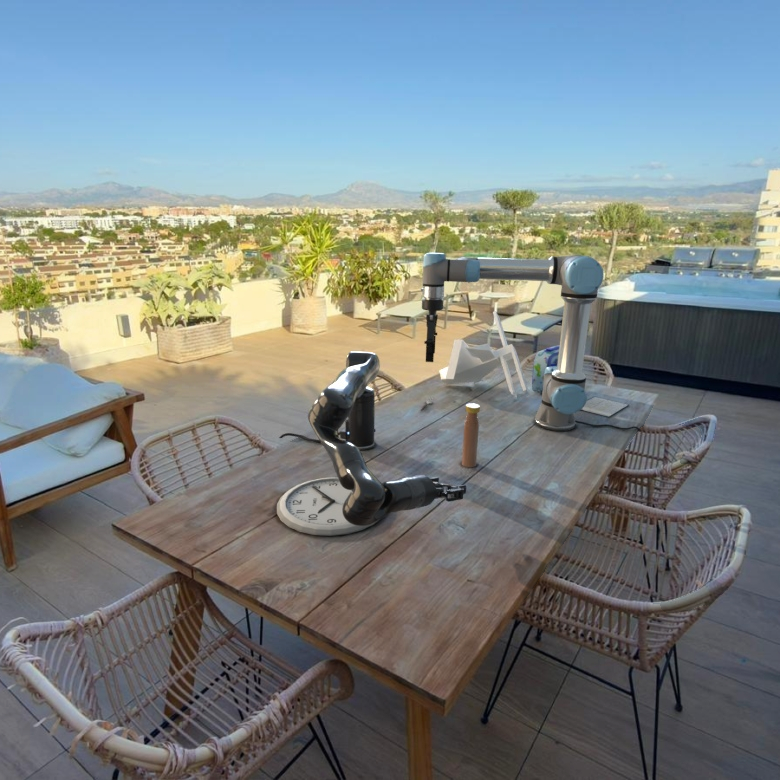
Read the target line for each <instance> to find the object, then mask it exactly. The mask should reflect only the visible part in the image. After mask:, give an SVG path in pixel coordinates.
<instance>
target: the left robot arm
mask: <svg viewBox="0 0 780 780" xmlns="http://www.w3.org/2000/svg"><path fill="white" fill-rule="evenodd" d="M380 369H381V361H380V358H379V356H378V354H377V353H375V352H371V351H354V350H353V351H349V352H348V354H347V355H346V359H345V367H344V369H342V370H341V371H340V372H339V373H338V374H337V375H336V376H335V378H334V379H333V381H332V383H331V384H329V385H327V386H326V387H325V388H323V390H322V391H321V392H320V393H319V394H318V396H317V398H315V401H314V402H313V404H312V405H311V406H310V408H309V410H308V412H307V419H308V422H309V425H310V426H311V429H312V430H313V432H314V433H315V435H316V437H317V438H318V439H314V438H309V437H308V436H305V435H303V434H298V433H292V432H286V433H285V432H284V433H283V434H281V435H280V436H279V437H278V439H283V438H284V437H287V436H289V437H296V438H301V439H304V440H306V441H308V442H313V443H318V444H321V445H322V446H323V448H324V449H325V451H326V452H327V454H328V456H329V458H330V460H331V462H332V466H333V469H334V472H335V474H336V477H337V478H338V480H339V482H340V484H341V485H342V487H343V488H345V489H347V490H352V491H351V492H350V494H349V495H348V497H347V499H346V500H345V502H344V504H343V507H342V513H343V516H344V518H345V519H346V520H347V521H348V522H349V523H351V524H353V525H356V526H366V525H370V524H372V523H374V522H376V521H377V522H379V521H380V520H382V519H384V518H385V517H387V516H389V515H390V514H393V513H397V512H401V511H410V510H414V509H419V508H423V507H429V506H430V505H431V504H432V503H433V502H434V501H435V500H438V499H445V501H446V502H448V503H449V502H455V501H460V500H463V499H464V495H465V494H467V488H468V487H467V485H465V484H459V485H451V484H450V483H445V482H444V483H443V482H440V478H439V477H437V476H433V477H429V476H427V475H426V474H425V475H424V474H418V475H411V476H406V477H401V478H398V479H393V480H387V481H383V482H381V481H380V480H379V479H378V478H377V477H376V476H375V475H374V474H373V472H372V471H371V470H370V469H369V468H368V465H367V463H366V461H365V458H364V456H363V453H362V452H361V451H365V450H370V449H372V448H374V447H375V443H376V442H375V433H376V428H375V418H376V417H375V414H376V413H375V411H376V410H375V408H376V406H375V405H376V404H375V399H376V398H375V397H376V395H375V394H376V392H375V390H374V389H373V388H372V387H370V386H369V385H370V384H371V383H372V382H373V381H375V380H376V378H377V377H378V375H379V372H380ZM344 423H345V425H344V426H345V427H344V428H343V429H341V430H340V431H339V429H340V428H341V427H342V426H343V424H344ZM339 436H340V437H339ZM378 520H379V521H378ZM377 522H376V523H377Z"/></svg>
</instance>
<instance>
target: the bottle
mask: <svg viewBox="0 0 780 780" xmlns="http://www.w3.org/2000/svg"><path fill="white" fill-rule="evenodd" d="M479 430H480V422H479V415H478V413H468V412H467V413H466V416H465V419H464V424H463V439H462V454H461V456H462V457H461V465H462V466H463V467H465V468H475V467H476V466H477V460H478V459H477V457H478V443H479Z"/></svg>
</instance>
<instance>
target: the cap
mask: <svg viewBox="0 0 780 780" xmlns="http://www.w3.org/2000/svg"><path fill="white" fill-rule="evenodd" d="M480 411H481V406H480V404H479V403H474V402H473V403H472V402H471V403H467V404H465V412H466V413H467V414H468V413H477V414H478V413H480Z"/></svg>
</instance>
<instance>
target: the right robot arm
mask: <svg viewBox="0 0 780 780" xmlns="http://www.w3.org/2000/svg"><path fill="white" fill-rule="evenodd" d="M422 264H423V265H422V288H420V292H421V293H422V294H421V296H422V299H421V309H422V310H423V311H428V313H426V316H425V320H426V340H424V342H423V343H424V344H425V362H426V363H434V359H435V357H434V356H435V353H436V338H437V337H436V336H438V332H437V329H436V328H437V324H438V318H439V315H438V314H437V311H438V312H439V311H442V310H444V299H443V298H444V297H445V282H447V283H449V282H452V283H453V282H457V283H468V284H470V283H477V282H479V281H480V280H495V281H497V280H499V281H500V280H501V281H526V282H527V281H531V282H546V283H547V284H548V285H557V286H561V289H560V298H561V299H562V300H563V303H564V305H563V313H562V322H561V330H560V339H559V355H558V364H557V366H553V367H547V368H546V369H545V373H544V382H543V392H542V394H541V402H540V405H539V407H538V410H537V411H536V413H535V416H534V424H535V425H536V426H537V427H539V428H542V429H544V430H549V431H556V432H567V431H572V430H574V429H575V428H576V423H577V424H580V425H581V424H582V425H585V426H589V427H596V428H598V427H599V428H600V427H608V428H613V429H618V430H623V431H628V430H633V429H636V430H638V431H641V429H640V428H639V427H638V426H635V425H634V426H628V427H620V426H617V425H614V424H603V423H601V424H593V423H588V422H584V421H579V420H576V418H575V417H576V416H575V414H576V413H579V412H580V411H582V410H581V409H582V408H583V407H584V406H585V404H586V401H588V397H587V392H586V389H585V388H586V383H587V382H586V381H587V375H586V374H585V373H584V371H583V369H584V361H585V355H586V347H587V339H588V338H587V337H588V330H589V324H590V318H591V317H590V316H591V308H592V303H593V302H594V301H596V300H597V298H598V294H599V293H598V291H599V288H601V285H602V284H603V281H604V269H603V267H602V265H601V264H600V262H599V261H597V260H596V259H595V258H594V257H592V256H587V255H581V254H574V255H573V254H572V255H565V256H551V257H549V258H548V259H545V258H544V259H543V258H542V259H541V258H540V259H539V258H501V257H500V258H497V257H496V258H495V257H494V258H492V257H466V256H460V257H457V258H455V259H451V258H449V259H448V258H447V257H446V253H444V252H427V253H425V254H424V255H423V263H422Z"/></svg>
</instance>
